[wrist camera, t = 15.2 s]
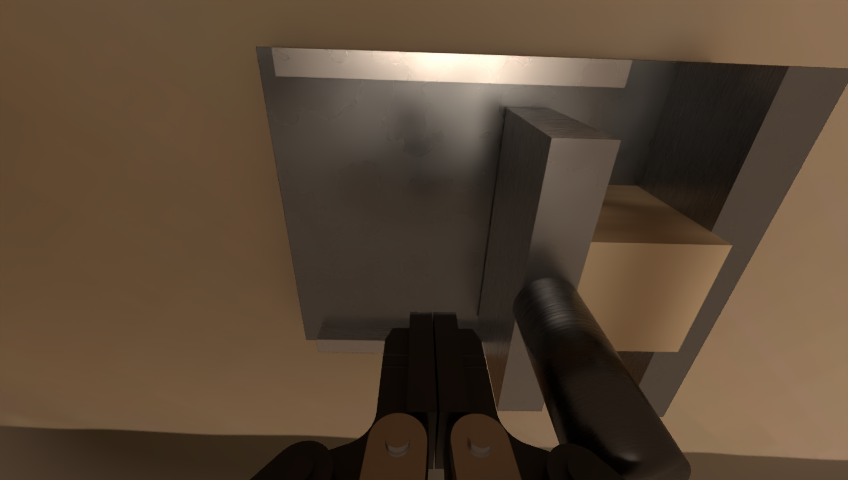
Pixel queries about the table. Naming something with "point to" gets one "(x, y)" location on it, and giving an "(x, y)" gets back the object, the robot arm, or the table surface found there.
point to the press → (478, 168)
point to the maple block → (647, 271)
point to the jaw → (561, 298)
